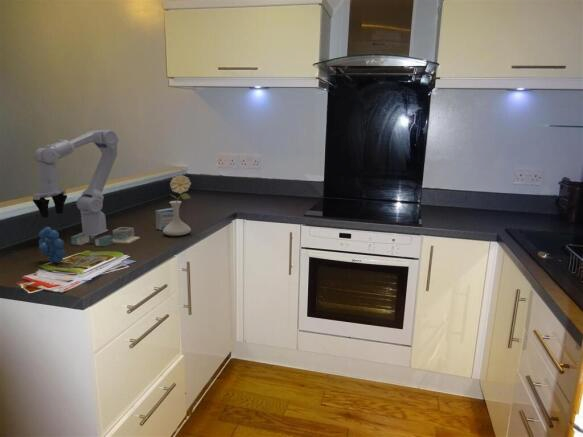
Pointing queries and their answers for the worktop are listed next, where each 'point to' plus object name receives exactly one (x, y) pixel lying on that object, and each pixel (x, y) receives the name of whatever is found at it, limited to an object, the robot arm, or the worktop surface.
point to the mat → (127, 241)
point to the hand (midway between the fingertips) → (52, 215)
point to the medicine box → (163, 218)
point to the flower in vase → (176, 225)
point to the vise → (91, 240)
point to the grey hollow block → (123, 234)
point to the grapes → (51, 245)
